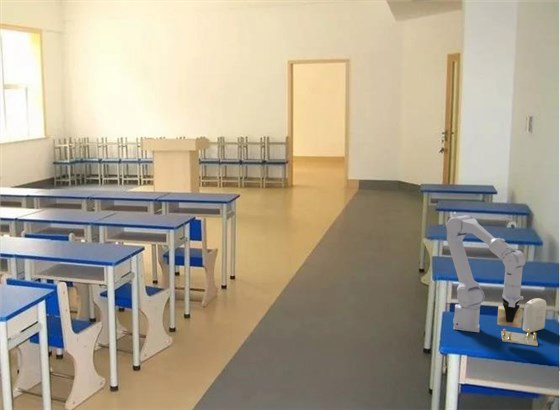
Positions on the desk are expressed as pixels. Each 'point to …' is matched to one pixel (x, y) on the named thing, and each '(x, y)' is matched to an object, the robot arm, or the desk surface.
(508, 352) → the desk surface
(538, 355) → the desk surface
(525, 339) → the plate
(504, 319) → the board
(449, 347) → the desk surface
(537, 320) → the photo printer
